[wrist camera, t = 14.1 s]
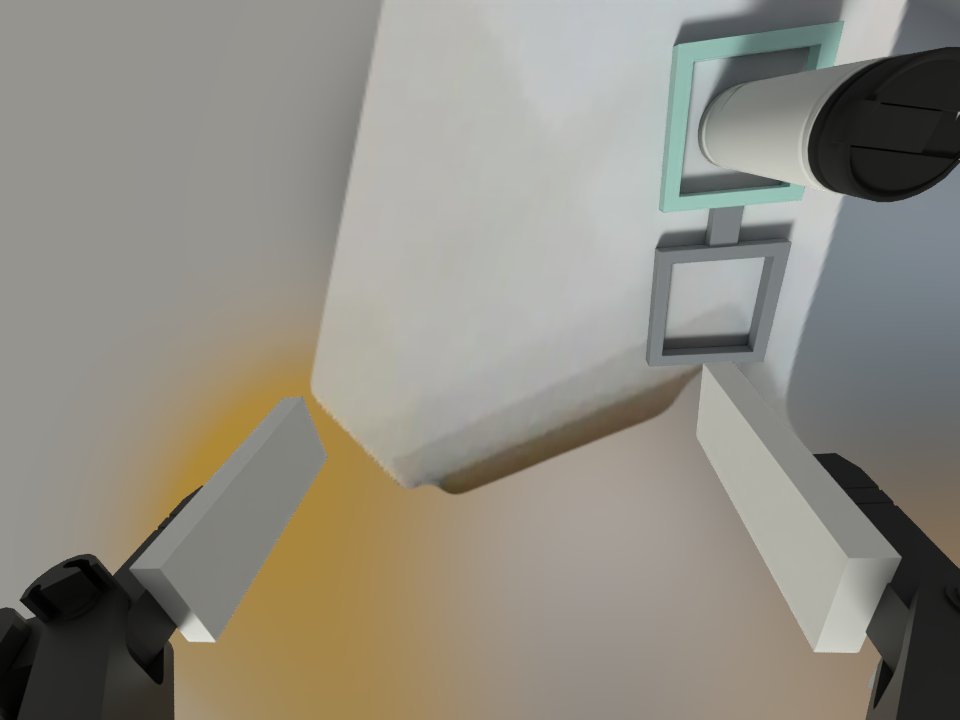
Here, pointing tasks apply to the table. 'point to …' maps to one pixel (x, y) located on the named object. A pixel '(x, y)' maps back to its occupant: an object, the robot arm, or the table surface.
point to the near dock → (820, 56)
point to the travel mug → (844, 126)
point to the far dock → (716, 247)
